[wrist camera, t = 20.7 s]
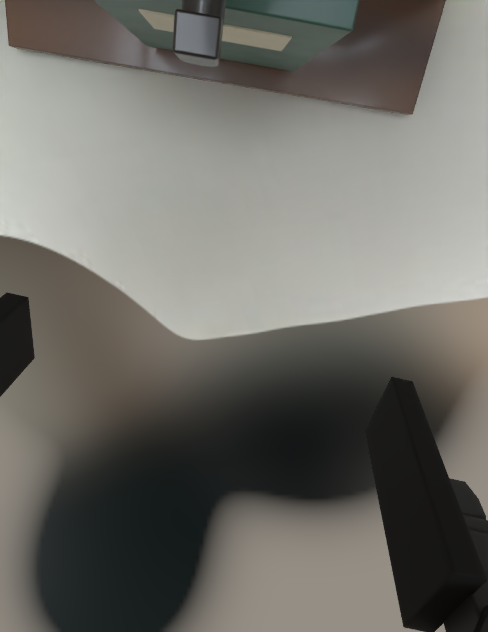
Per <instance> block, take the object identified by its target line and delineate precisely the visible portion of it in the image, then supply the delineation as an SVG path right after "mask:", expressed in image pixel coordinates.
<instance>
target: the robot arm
mask: <svg viewBox="0 0 488 632" xmlns="http://www.w3.org/2000/svg"><path fill="white" fill-rule="evenodd" d="M33 359H34V348H33V338H32V329H31V319H30V309H29V300H28V297H24V296H19V295H15V294H11V293H6V294H4V295H3V296H2V297H1V298H0V396H1V395H2V394H3V393H4V392H5V391H6V390H7V389H8V387H9V386H10V385H11V384H12V383H13V382H14V381H15V380H16V378H17V377H18V376H19V375H20V374H21V373H22V372H23V370H24V369H25V368H26V367H27V366H28V365H29V364H30V363H31V362H32V360H33ZM365 433H366V438H367V443H368V448H369V453H370V458H371V464H372V469H373V474H374V479H375V484H376V489H377V494H378V499H379V505H380V510H381V515H382V520H383V525H384V530H385V535H386V539H387V545H388V550H389V555H390V560H391V566H392V571H393V576H394V581H395V585H396V591H397V596H398V601H399V606H400V612H401V617H402V622H403V626H404V627H405V628H410V629H415V630H419V631H424V632H435V631H436V630H437V629H438V628H439V627H440V626H441V625H442V624H443V623H444V626H445V630H446V632H488V521H487V520H486V515H485V513H484V511H483V508H482V506H481V504H480V501H479V499H478V498H477V496H476V495H475V494H474V493H473V491H472V490H471V489H470V488H469V486H468V485H467V484H466V482H463V481H459V480H454V479H450V478H449V477H448V474H447V472H446V469H445V466H444V464H443V461H442V459H441V456H440V453H439V450H438V448H437V445H436V443H435V440H434V437H433V434H432V432H431V429H430V427H429V424H428V421H427V419H426V416H425V413H424V411H423V408H422V405H421V403H420V400H419V397H418V395H417V392H416V389H415V387H414V384H413V382H412V381H407V380H403V379H399V378H394V377H391V379H390V381H389V383H388V385H387V387H386V389H385V391H384V393H383V395H382V397H381V399H380V401H379V403H378V405H377V407H376V409H375V411H374V413H373V415H372V417H371V419H370V421H369V423H368V425H367V427H366V429H365Z"/></svg>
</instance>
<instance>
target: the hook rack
mask: <svg viewBox="0 0 488 632" xmlns="http://www.w3.org/2000/svg"><path fill="white" fill-rule="evenodd" d="M445 1H446V0H359V4H358V9H357V14H356V18H355V23H354V27H353V30H352V31H351V32H350V33H348V34H347V35H346V36H344V37H343V38H341V39H340V40H338V41H337V42H336V43H334V44H333V45H331V46H330V47H328V48H327V49H325V50H324V51H323V52H321V53H320V54H318V55H317V56H315V57H314V58H313V59H311V60H310V61H308V62H307V63H305V64H304V65H303V66H301V67H300V68H298V69H297V70H295V71H289V70H283V69H277V68H271V67H266V66H260V65H254V64H248V63H242V62H237V61H231V60H225V59H220V54H221V44H222V35H223V25H224V15H225V6H226V0H182V9H176V10H175V14H174V30H173V47H172V49H173V50H167V49H161V48H155V47H150V46H146V45H145V44H144V43H143V42H142V41H141V40H139V39H138V38H137V37H136V36H135V35H134V34H132V33H131V32H130V31H129V30H128V29H126V28H125V27H124V26H123V25H122V24H121V23H119V22H118V21H117V20H116V19H115V18H114V17H112V16H111V15H110V14H109V13H108V12H106V11H105V10H104V9H103V8H102V7H101V6H99V5H98V4H97V3H96V2H95V1H94V0H5V5H6V17H7V28H8V40H9V46H11V47H14V48H17V49H23V50H29V51H35V52H41V53H47V54H53V55H59V56H65V57H70V58H76V59H82V60H88V61H94V62H100V63H106V64H112V65H118V66H123V67H129V68H135V69H141V70H147V71H153V72H159V73H165V74H171V75H176V76H182V77H188V78H194V79H200V80H206V81H212V82H218V83H224V84H230V85H235V86H241V87H247V88H253V89H259V90H265V91H271V92H277V93H283V94H288V95H294V96H300V97H306V98H312V99H318V100H324V101H330V102H336V103H342V104H347V105H353V106H359V107H365V108H371V109H377V110H383V111H389V112H395V113H400V114H413V111H414V107H415V104H416V101H417V97H418V94H419V90H420V87H421V83H422V80H423V77H424V73H425V70H426V66H427V63H428V59H429V56H430V52H431V49H432V46H433V42H434V39H435V35H436V32H437V28H438V25H439V22H440V18H441V15H442V11H443V8H444V4H445Z"/></svg>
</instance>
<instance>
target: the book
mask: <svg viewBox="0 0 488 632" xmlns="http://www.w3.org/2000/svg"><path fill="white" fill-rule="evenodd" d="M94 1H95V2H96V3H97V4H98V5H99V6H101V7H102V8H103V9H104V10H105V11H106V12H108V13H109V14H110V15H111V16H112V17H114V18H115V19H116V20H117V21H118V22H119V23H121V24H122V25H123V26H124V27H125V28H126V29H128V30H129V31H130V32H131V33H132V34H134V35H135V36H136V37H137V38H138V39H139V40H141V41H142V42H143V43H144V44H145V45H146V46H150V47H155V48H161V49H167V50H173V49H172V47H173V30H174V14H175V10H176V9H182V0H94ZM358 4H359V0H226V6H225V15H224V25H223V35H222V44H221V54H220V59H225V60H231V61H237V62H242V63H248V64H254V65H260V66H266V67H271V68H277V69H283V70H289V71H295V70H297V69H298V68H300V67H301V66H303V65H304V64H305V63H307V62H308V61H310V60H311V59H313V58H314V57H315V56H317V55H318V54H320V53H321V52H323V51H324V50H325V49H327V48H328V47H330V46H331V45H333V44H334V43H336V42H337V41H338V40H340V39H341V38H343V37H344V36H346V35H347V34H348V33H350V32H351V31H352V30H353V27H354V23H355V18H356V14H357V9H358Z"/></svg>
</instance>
